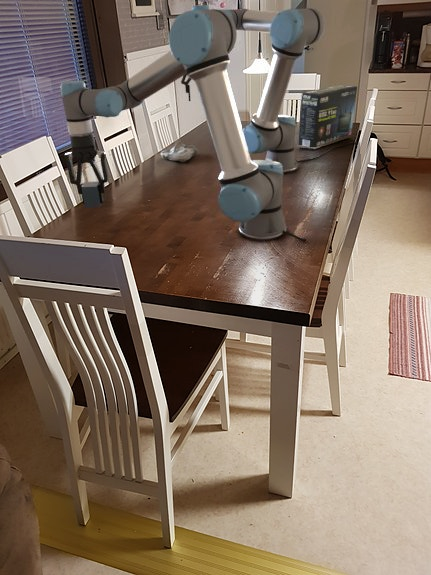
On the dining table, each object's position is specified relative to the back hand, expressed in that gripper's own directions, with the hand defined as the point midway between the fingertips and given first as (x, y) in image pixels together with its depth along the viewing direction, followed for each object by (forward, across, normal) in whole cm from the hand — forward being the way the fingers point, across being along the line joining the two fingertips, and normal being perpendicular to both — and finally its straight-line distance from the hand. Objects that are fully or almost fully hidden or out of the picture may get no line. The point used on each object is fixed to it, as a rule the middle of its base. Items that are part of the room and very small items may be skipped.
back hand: (204, 100), depth 208 cm
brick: (+22, +43, +67) cm, 83 cm away
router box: (+28, -64, -23) cm, 74 cm away
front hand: (+21, +43, +67) cm, 82 cm away
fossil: (+28, +14, -9) cm, 33 cm away
